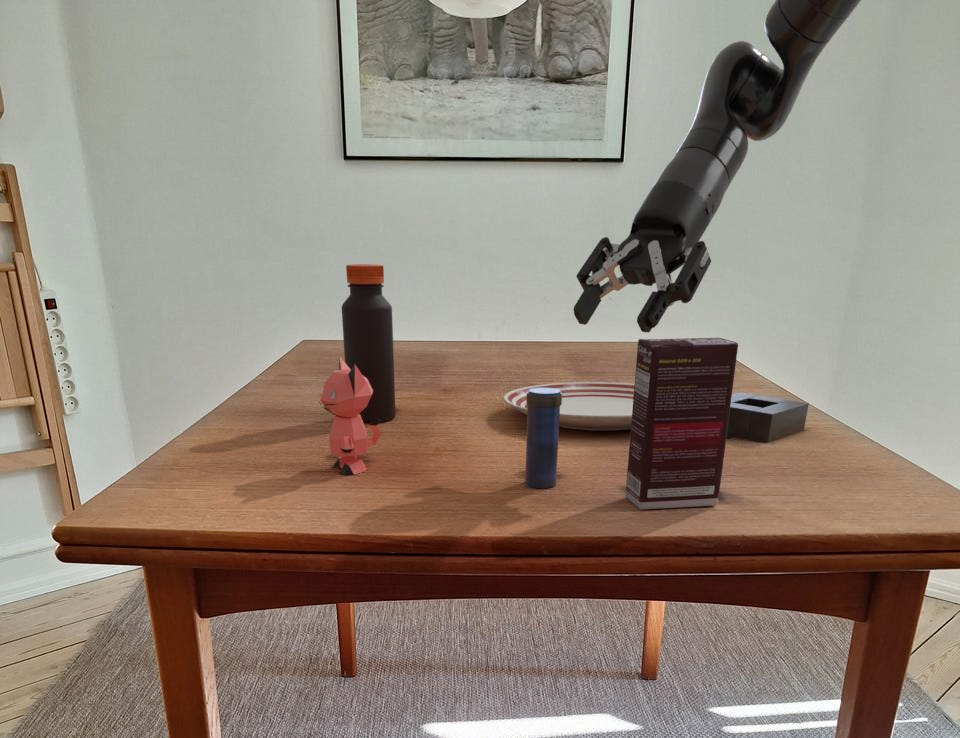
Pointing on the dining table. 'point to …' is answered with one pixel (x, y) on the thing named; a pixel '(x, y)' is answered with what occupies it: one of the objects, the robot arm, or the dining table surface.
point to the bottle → (370, 338)
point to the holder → (764, 417)
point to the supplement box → (679, 421)
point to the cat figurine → (349, 417)
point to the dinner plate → (586, 404)
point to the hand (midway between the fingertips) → (609, 323)
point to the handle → (542, 436)
